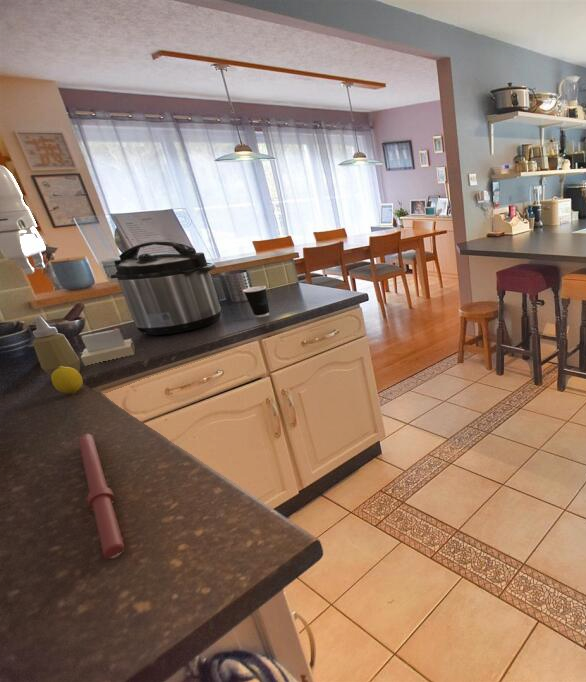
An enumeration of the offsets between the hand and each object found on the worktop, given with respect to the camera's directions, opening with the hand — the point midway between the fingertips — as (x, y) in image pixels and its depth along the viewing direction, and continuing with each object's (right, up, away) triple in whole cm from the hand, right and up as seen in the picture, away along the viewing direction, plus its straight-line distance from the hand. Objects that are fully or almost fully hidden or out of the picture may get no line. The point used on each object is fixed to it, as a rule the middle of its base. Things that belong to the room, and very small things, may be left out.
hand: (36, 271), depth 128 cm
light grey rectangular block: (+10, -23, +12) cm, 27 cm away
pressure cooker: (+13, -14, +40) cm, 45 cm away
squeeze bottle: (+8, -31, +1) cm, 32 cm away
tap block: (+10, -25, +13) cm, 30 cm away
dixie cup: (+41, -11, +45) cm, 62 cm away
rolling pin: (+67, -47, -51) cm, 97 cm away
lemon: (+23, -35, -12) cm, 43 cm away
